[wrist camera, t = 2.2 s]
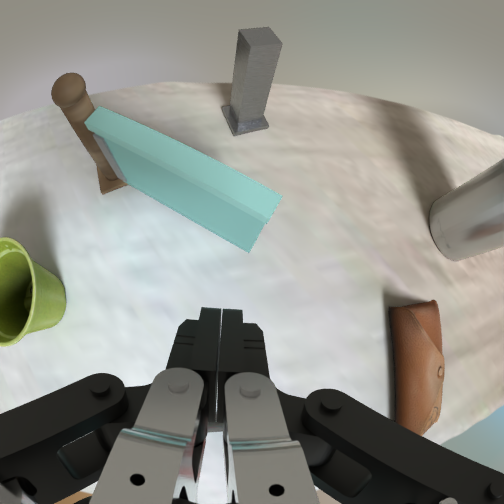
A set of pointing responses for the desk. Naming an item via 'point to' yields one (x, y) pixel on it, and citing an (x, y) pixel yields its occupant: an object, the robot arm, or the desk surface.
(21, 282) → the plant pot
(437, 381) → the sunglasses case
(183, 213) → the gate
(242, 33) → the latch post
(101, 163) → the hinge post
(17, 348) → the desk surface
